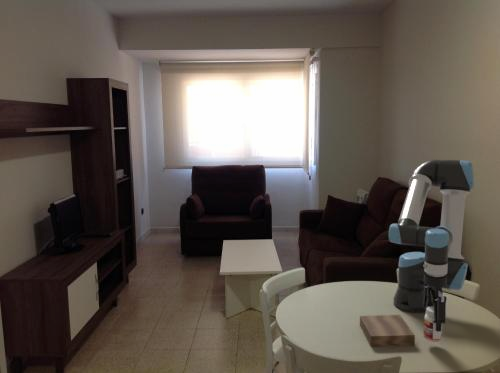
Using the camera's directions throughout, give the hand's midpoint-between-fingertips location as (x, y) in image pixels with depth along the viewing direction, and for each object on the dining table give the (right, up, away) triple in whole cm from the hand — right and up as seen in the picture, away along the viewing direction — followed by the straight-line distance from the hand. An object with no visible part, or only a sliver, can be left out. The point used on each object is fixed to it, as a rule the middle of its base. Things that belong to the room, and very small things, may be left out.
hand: (432, 333), depth 159 cm
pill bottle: (0, -2, 0) cm, 2 cm away
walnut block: (-14, -4, +9) cm, 17 cm away
